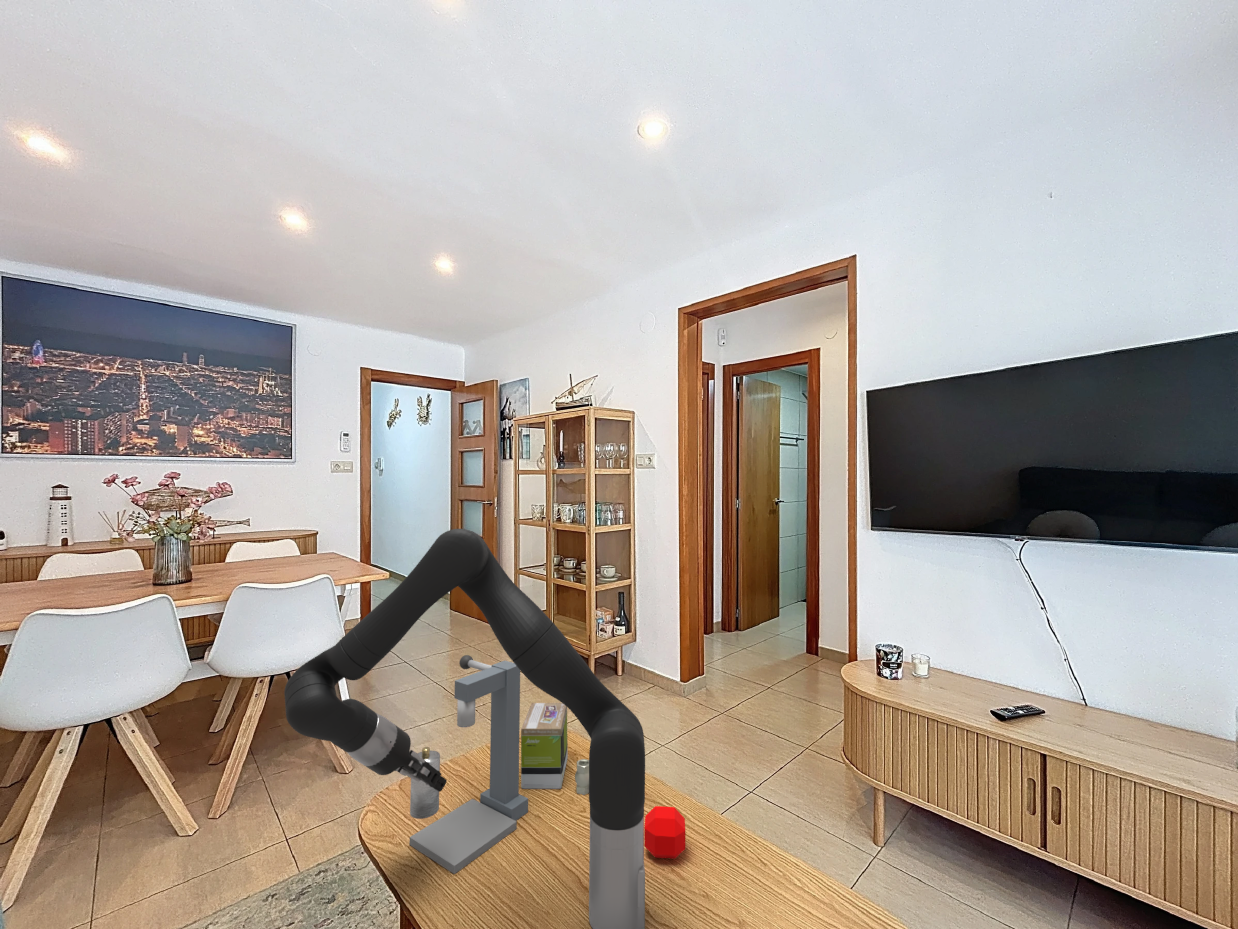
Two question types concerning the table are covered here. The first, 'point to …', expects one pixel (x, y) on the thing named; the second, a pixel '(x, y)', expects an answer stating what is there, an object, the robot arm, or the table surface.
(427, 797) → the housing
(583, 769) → the valve
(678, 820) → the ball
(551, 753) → the tea box
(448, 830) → the press
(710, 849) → the table surface
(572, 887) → the table surface
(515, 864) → the table surface
